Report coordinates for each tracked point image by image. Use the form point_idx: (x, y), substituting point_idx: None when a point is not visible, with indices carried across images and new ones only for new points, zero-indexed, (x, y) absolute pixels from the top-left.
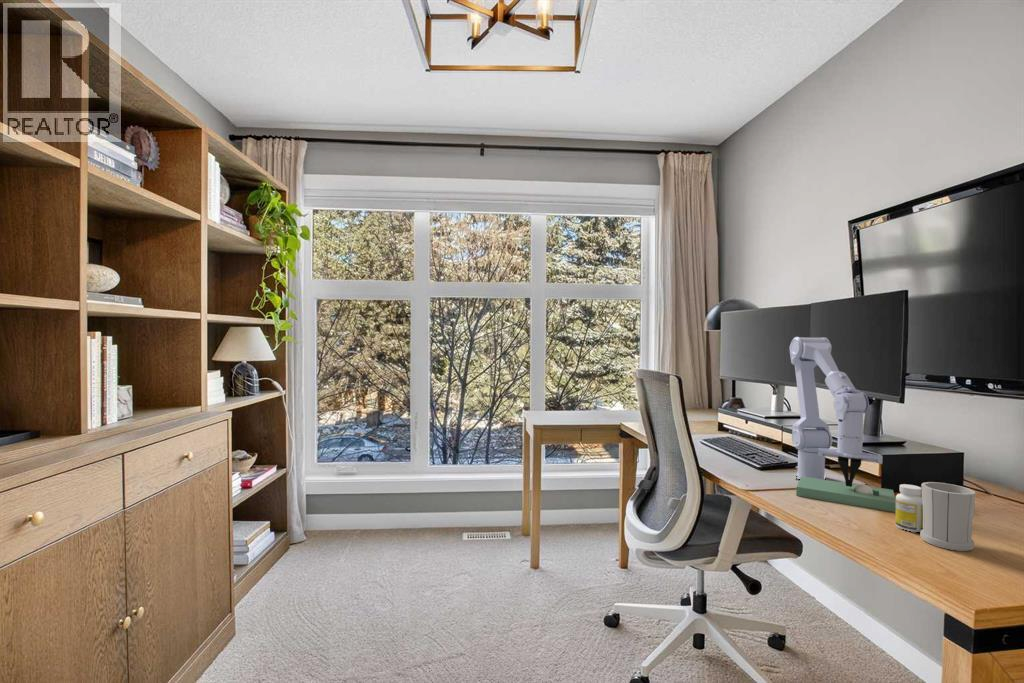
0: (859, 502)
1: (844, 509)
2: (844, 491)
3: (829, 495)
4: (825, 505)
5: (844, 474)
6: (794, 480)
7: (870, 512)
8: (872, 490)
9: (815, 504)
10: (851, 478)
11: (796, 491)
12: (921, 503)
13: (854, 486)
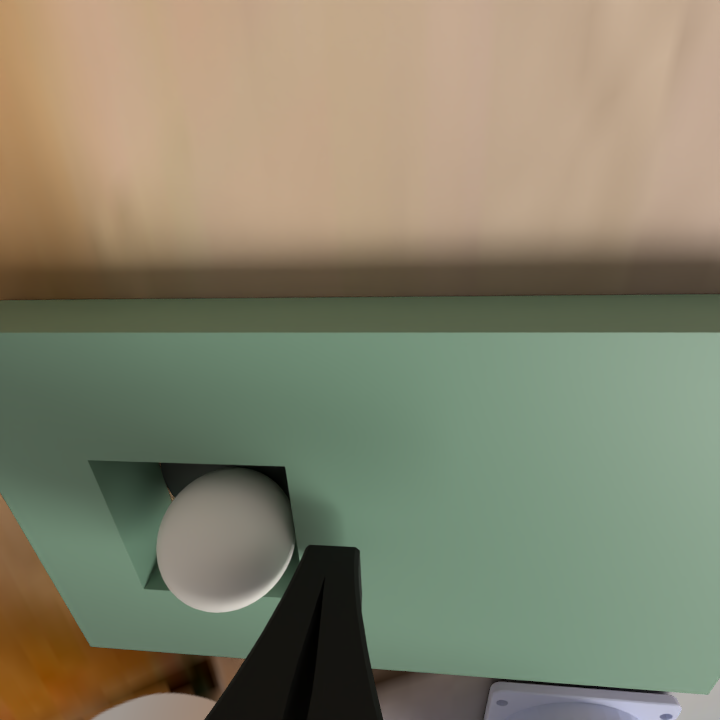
0: (238, 310)
1: (356, 53)
2: (368, 444)
3: (513, 315)
4: (556, 80)
5: (362, 685)
6: None
7: (131, 138)
8: None
9: (680, 32)
10: (284, 631)
11: None
12: None
13: None
